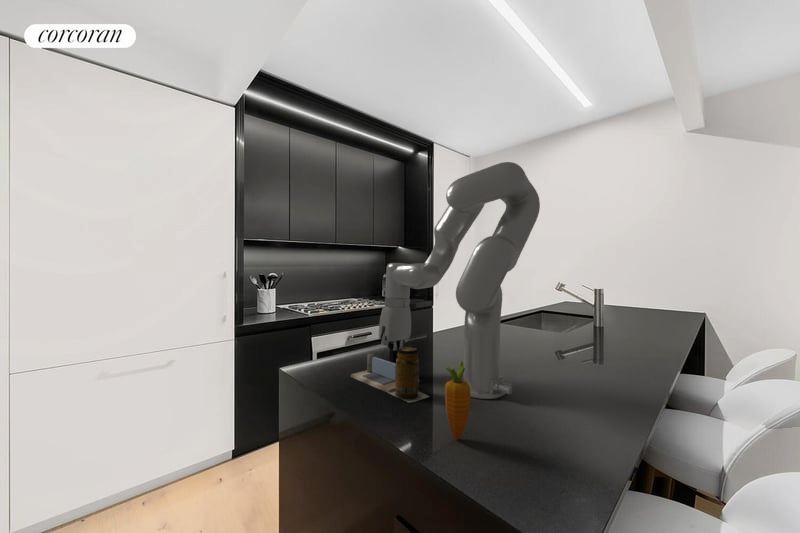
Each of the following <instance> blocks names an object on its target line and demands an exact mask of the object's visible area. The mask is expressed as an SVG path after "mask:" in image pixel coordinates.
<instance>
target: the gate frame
mask: <svg viewBox="0 0 800 533" xmlns="http://www.w3.org/2000/svg"><path fill="white" fill-rule="evenodd" d="M372 357H375V354H374V353H369V354H367V362H366V364H367V365H366V366H367V368H366V370H362V371H358V372H355V373H350V378H353V379H354V380H357V381H359V382H362V383H363V384H366V385H369V386H371V387H373V388H376V389H378V390H380V391H383V392H386V393H387V394H389V393H388V392H392V391H395V386H396V380H392V379H390V378H387V377H384V376H382V375H379V374H376V373H374V372H372ZM419 383H420V379H418V384H419Z"/></svg>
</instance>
